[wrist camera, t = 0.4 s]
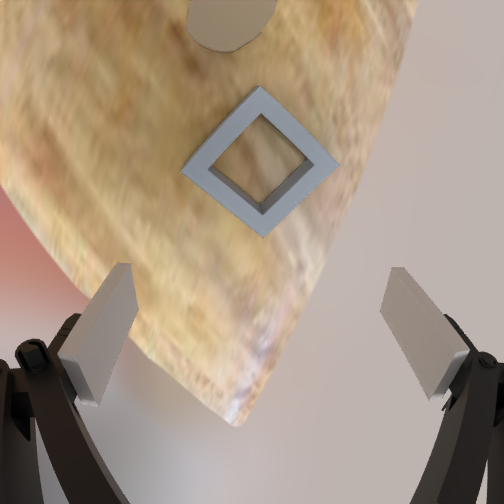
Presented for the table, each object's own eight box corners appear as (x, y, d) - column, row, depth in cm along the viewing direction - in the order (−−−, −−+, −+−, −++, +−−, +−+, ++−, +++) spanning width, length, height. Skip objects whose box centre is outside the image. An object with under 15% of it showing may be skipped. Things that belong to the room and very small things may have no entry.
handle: (263, 24, 26) (293, -14, 14) (233, 71, 29) (240, 63, 16) (223, 5, 25) (224, -46, 12) (193, 52, 28) (170, 31, 15)
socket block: (257, 85, 30) (260, 85, 27) (331, 158, 35) (339, 164, 32) (183, 164, 34) (180, 172, 31) (260, 226, 39) (263, 238, 36)
